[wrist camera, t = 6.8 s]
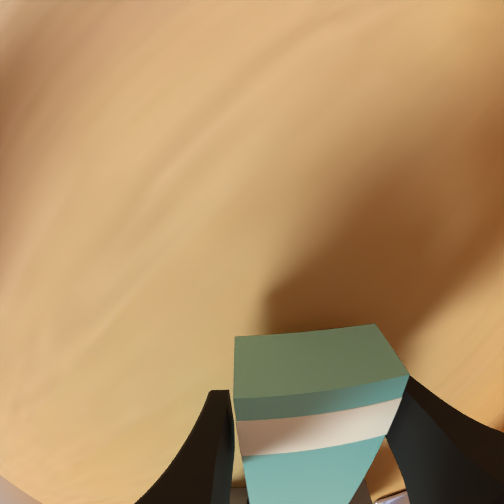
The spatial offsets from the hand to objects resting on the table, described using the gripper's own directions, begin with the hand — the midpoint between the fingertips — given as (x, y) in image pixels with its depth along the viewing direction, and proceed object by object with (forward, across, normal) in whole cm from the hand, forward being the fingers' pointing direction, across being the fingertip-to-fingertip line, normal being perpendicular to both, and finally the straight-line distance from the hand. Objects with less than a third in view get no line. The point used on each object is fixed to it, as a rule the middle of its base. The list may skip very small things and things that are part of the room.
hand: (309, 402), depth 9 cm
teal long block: (+1, 0, +5) cm, 5 cm away
